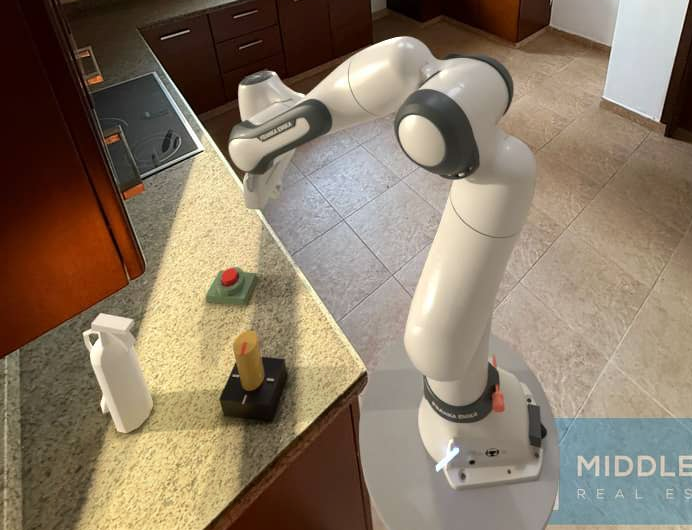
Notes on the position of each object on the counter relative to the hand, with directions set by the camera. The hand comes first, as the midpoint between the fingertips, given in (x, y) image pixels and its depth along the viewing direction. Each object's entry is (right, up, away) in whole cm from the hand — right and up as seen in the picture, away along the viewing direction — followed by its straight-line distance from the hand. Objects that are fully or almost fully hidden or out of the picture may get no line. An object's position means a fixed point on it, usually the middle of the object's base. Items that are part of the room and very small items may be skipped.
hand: (276, 194), depth 96 cm
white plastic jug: (-25, -38, -12) cm, 47 cm away
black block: (-1, -36, -10) cm, 38 cm away
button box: (-14, -30, +12) cm, 35 cm away
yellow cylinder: (-1, -31, -12) cm, 33 cm away
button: (-15, -26, +11) cm, 32 cm away
